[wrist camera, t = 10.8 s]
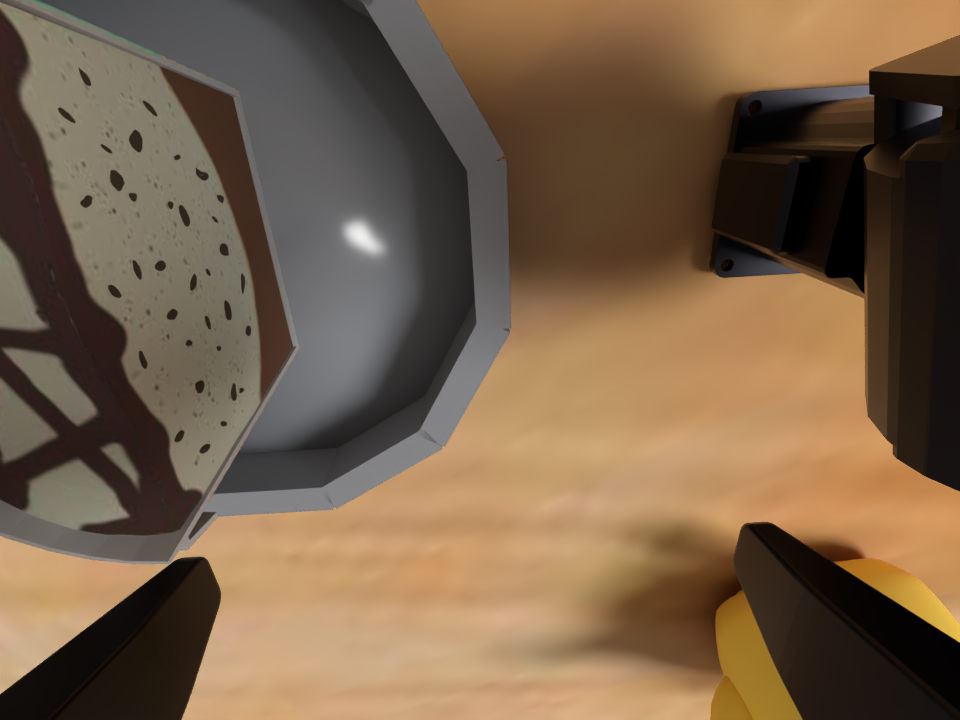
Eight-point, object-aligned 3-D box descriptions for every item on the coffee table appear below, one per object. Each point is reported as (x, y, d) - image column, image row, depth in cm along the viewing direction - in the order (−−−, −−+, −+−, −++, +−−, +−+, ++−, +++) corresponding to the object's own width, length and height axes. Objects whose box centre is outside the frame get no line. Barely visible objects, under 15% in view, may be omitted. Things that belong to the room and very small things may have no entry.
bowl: (489, -127, 14) (496, -205, 11) (509, 448, 23) (515, 498, 20) (-213, -86, 14) (-413, -151, 11) (83, 474, 23) (21, 528, 20)
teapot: (793, 698, 33) (923, 919, 24) (640, 654, 30) (718, 884, 21) (951, 570, 28) (1197, 789, 18) (782, 503, 25) (970, 721, 16)
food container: (30, 45, 15) (-661, -99, 6) (226, 34, 15) (-154, -126, 6) (163, 388, 20) (-86, 595, 11) (307, 380, 20) (176, 580, 11)
